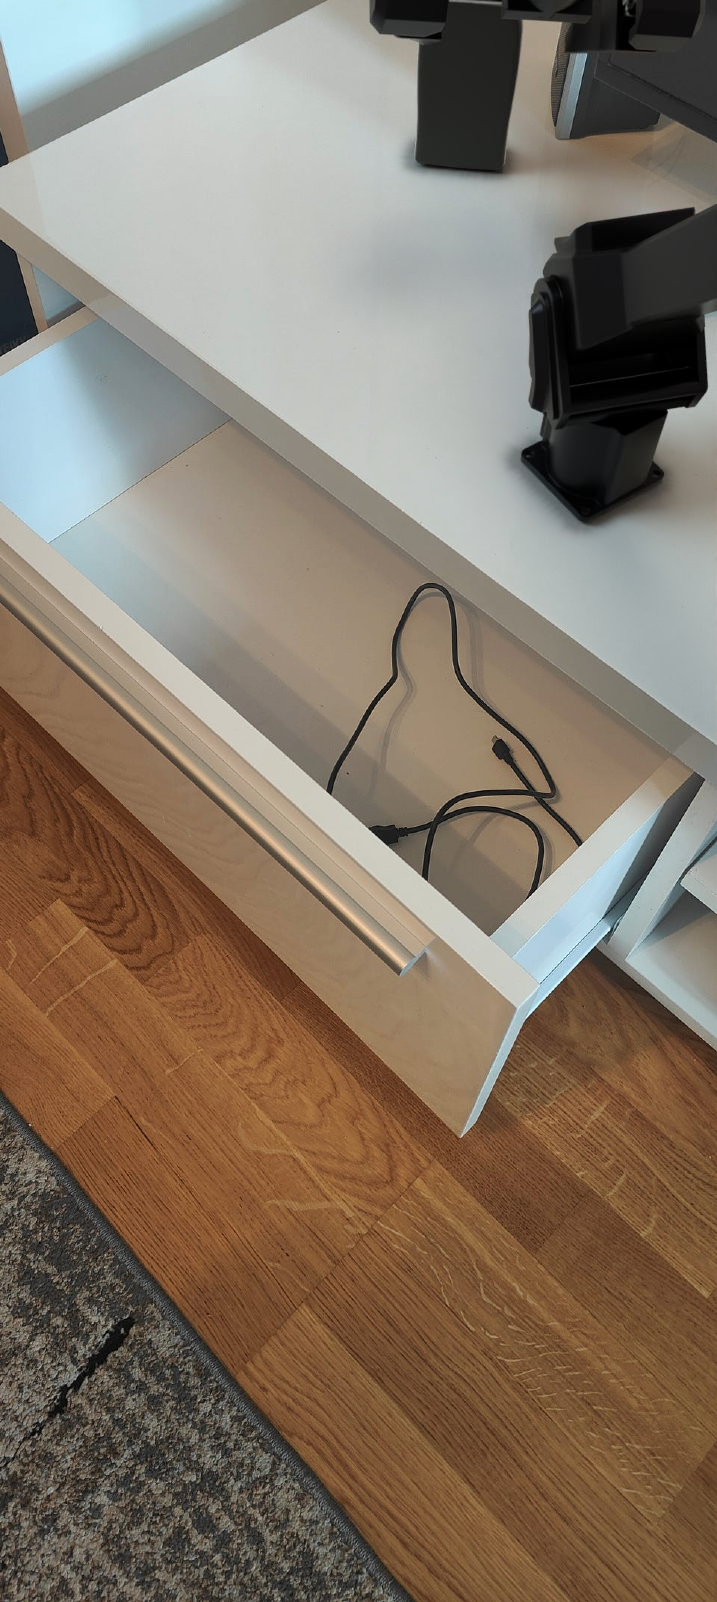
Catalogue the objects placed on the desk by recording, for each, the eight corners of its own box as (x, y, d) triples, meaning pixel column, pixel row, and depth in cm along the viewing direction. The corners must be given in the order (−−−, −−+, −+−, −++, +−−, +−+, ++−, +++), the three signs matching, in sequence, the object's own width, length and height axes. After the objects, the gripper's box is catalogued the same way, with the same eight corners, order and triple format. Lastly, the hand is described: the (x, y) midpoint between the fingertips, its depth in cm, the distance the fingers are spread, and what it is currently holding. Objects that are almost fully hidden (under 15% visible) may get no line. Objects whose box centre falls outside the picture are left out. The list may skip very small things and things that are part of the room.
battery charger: (509, 143, 85) (530, -27, 74) (505, 174, 83) (527, 4, 73) (416, 135, 85) (425, -35, 75) (411, 166, 83) (419, -4, 73)
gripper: (772, -278, 55) (644, -97, 70) (396, -318, 52) (347, -121, 67) (758, -19, 57) (636, 101, 72) (397, -44, 55) (349, 87, 70)
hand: (497, 39), depth 70 cm, fingers open, 9 cm apart
